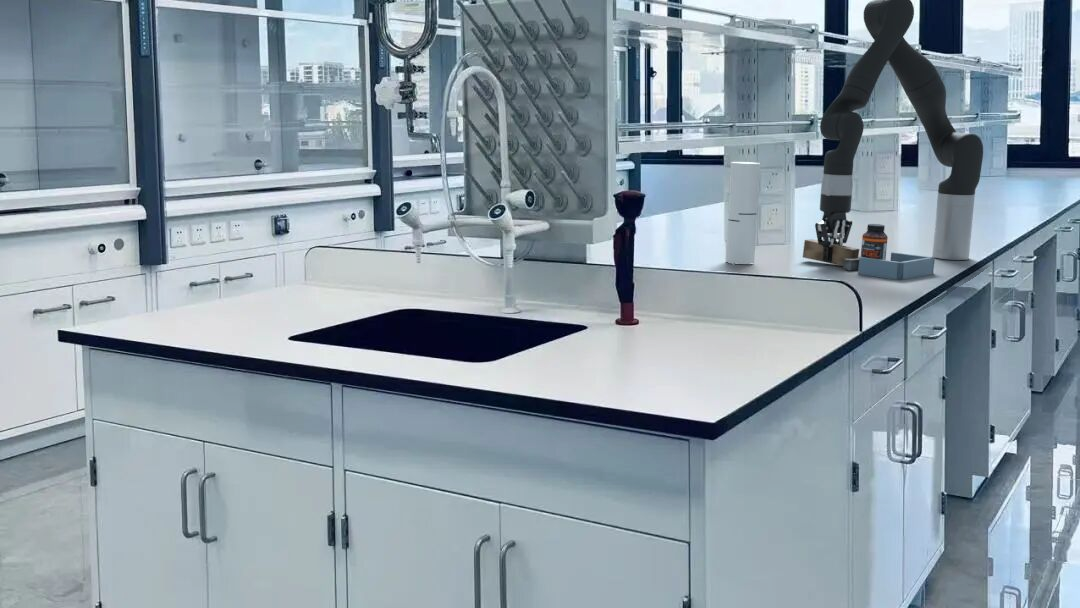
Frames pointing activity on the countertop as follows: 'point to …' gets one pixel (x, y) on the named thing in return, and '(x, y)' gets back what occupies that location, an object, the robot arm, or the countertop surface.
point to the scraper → (833, 254)
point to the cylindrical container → (742, 212)
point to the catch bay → (897, 266)
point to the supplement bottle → (874, 242)
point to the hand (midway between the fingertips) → (831, 260)
